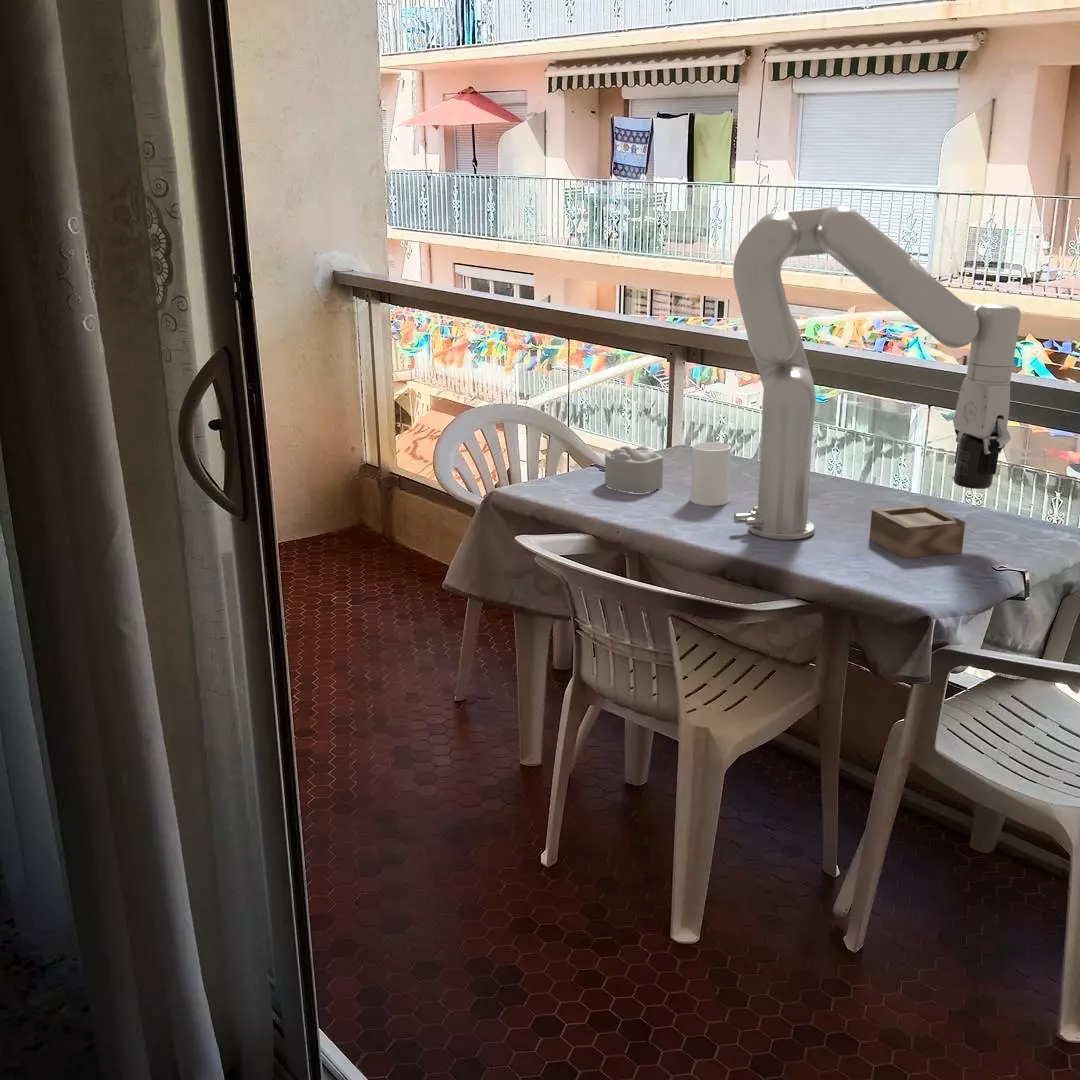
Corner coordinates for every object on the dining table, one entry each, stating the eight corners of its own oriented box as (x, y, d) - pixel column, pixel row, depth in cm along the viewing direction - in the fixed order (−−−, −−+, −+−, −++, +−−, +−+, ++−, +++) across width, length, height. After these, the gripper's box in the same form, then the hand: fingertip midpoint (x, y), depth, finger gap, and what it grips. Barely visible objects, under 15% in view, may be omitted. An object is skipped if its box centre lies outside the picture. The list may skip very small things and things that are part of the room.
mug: (711, 490, 247) (713, 437, 243) (745, 496, 242) (747, 442, 238) (682, 501, 238) (683, 447, 235) (716, 508, 233) (718, 452, 229)
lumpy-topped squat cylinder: (640, 496, 243) (641, 457, 240) (594, 486, 251) (594, 449, 249) (668, 486, 250) (668, 449, 248) (622, 477, 259) (622, 441, 256)
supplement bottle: (994, 491, 204) (1004, 427, 200) (955, 488, 205) (965, 424, 201) (988, 481, 210) (998, 419, 207) (950, 478, 212) (959, 416, 208)
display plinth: (903, 558, 201) (906, 527, 200) (869, 538, 213) (871, 509, 211) (961, 552, 204) (965, 522, 202) (925, 533, 215) (928, 504, 213)
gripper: (943, 366, 208) (930, 458, 214) (1000, 382, 192) (985, 482, 198) (978, 365, 210) (964, 457, 216) (1038, 382, 194) (1021, 480, 200)
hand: (974, 468), depth 207 cm, fingers closed on supplement bottle, 6 cm apart
